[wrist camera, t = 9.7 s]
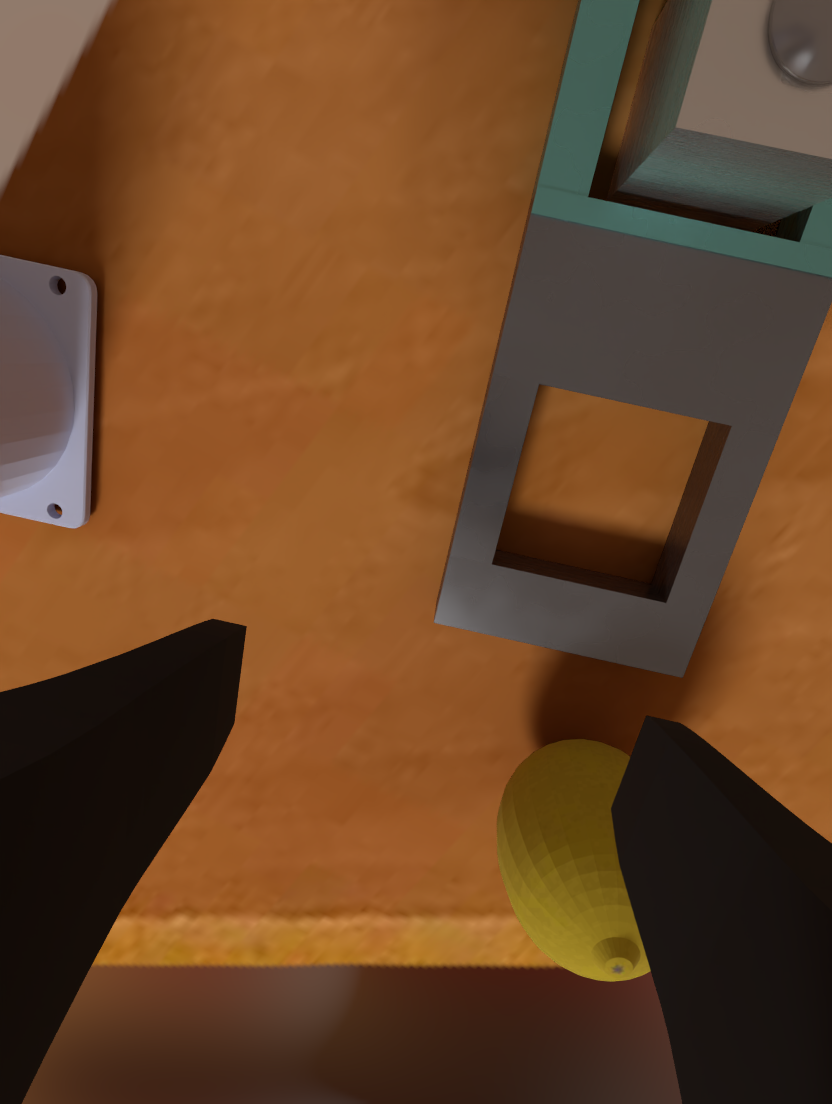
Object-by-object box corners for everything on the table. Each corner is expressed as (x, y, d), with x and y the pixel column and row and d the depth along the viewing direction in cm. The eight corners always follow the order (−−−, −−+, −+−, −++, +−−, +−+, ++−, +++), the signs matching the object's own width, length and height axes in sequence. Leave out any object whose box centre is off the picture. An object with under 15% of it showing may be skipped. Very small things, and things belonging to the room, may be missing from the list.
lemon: (558, 666, 21) (609, 841, 14) (678, 752, 22) (790, 964, 14) (461, 769, 23) (458, 976, 15) (575, 846, 24) (627, 1082, 16)
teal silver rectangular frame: (436, 602, 21) (433, 623, 19) (615, -161, 14) (634, -225, 13) (666, 654, 21) (683, 679, 19) (950, -91, 14) (1011, -147, 13)
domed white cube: (605, 202, 17) (679, 122, 11) (651, 28, 16) (763, -168, 10) (749, 232, 17) (900, 168, 11) (807, 59, 15) (1014, -119, 10)
